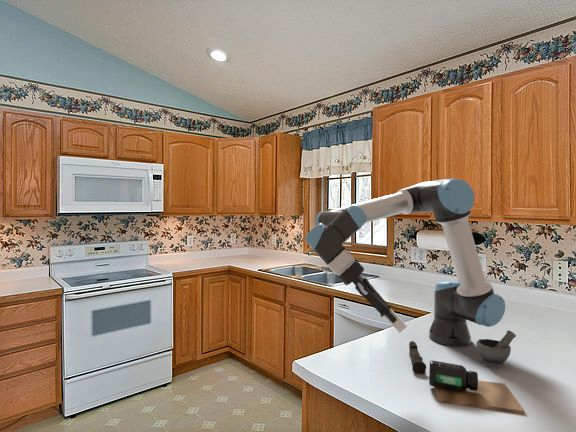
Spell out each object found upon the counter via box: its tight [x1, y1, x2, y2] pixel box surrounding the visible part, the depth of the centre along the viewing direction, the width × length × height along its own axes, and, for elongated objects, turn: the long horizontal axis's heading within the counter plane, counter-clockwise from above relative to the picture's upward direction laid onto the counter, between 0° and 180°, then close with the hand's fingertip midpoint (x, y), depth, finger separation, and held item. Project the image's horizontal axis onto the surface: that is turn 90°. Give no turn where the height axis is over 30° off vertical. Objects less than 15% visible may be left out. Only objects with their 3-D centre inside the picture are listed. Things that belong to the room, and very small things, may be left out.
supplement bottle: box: [428, 360, 479, 392], centre depth 101 cm, size 7×7×12 cm
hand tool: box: [408, 340, 427, 375], centre depth 121 cm, size 19×4×5 cm, turn 166°
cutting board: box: [433, 379, 526, 415], centre depth 100 cm, size 20×15×1 cm
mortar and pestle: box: [476, 330, 517, 370], centre depth 120 cm, size 11×9×12 cm
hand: (403, 329), depth 105 cm, fingers closed
